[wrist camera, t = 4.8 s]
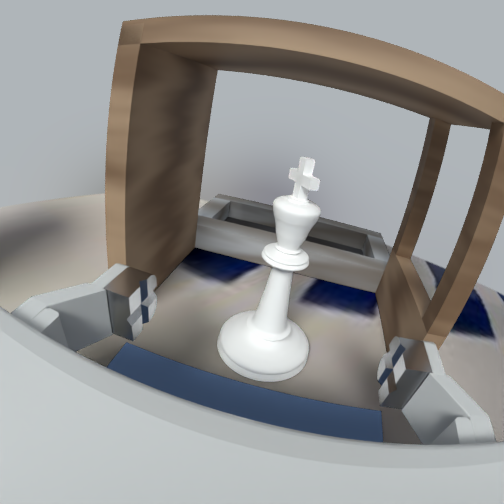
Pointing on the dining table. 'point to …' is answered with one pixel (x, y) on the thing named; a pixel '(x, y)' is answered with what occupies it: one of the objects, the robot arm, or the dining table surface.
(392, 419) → the dining table surface
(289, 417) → the mat
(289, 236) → the chess piece
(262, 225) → the tunnel
